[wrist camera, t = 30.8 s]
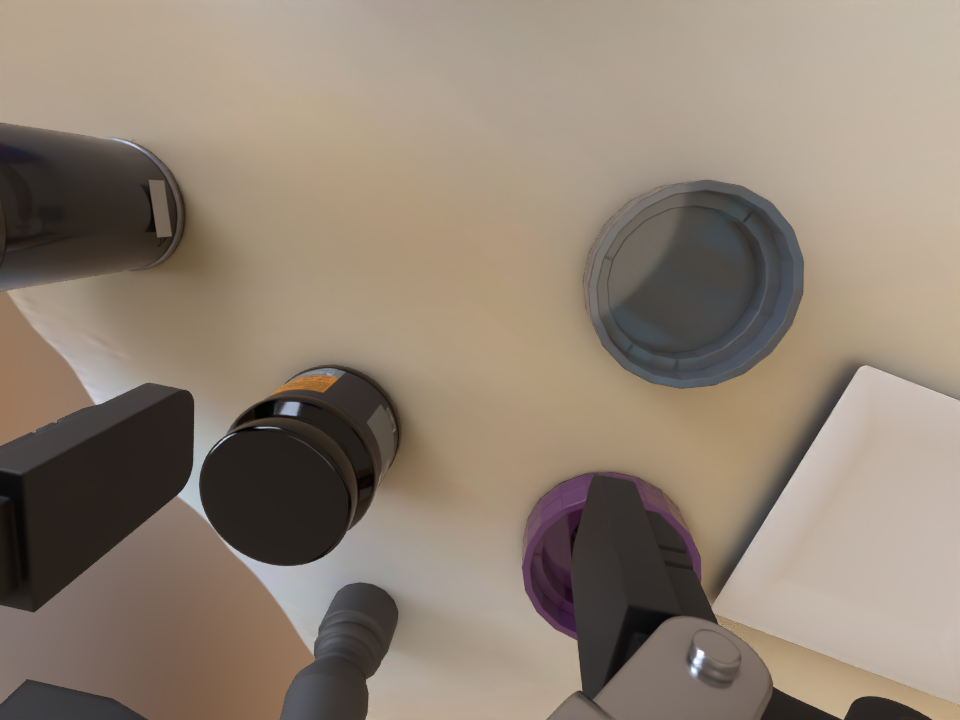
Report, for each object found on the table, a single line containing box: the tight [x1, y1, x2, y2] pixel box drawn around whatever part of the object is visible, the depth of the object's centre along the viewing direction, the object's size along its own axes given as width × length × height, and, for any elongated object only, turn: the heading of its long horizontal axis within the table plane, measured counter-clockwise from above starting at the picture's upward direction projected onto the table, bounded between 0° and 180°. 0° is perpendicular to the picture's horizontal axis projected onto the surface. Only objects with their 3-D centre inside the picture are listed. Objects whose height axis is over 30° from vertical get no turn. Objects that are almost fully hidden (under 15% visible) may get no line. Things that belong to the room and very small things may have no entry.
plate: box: [711, 365, 960, 706], centre depth 41 cm, size 22×22×2 cm
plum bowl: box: [522, 472, 701, 640], centre depth 43 cm, size 13×13×4 cm
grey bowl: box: [583, 180, 804, 389], centre depth 36 cm, size 13×13×4 cm
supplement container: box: [199, 365, 401, 566], centre depth 38 cm, size 10×10×12 cm
